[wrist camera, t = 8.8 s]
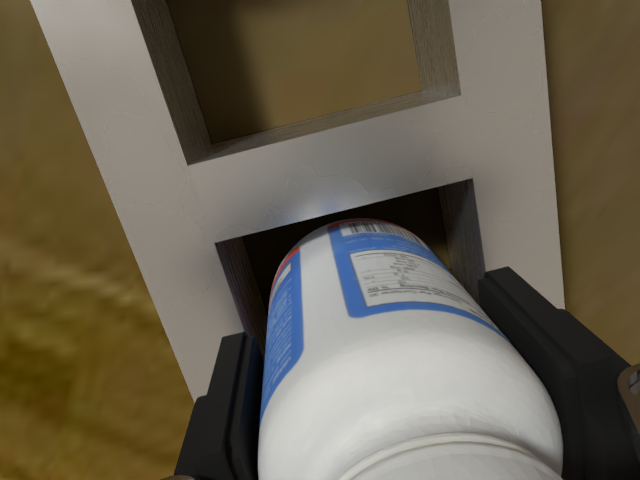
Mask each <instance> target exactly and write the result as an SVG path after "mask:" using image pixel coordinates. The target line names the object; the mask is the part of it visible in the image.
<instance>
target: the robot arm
mask: <svg viewBox="0 0 640 480" xmlns="http://www.w3.org/2000/svg"><path fill="white" fill-rule="evenodd" d="M478 291H479V298H480V305H481V309H482V310H483V311H484V312H485V313H486V315H487V316H488V317H489V318H490V319H491V321H492V322H493V323H494V324H495V325H496V326H497V327H498V329H499V330H500V331H501V332H502V333H503V335H504V336H505V337H506V338H507V339H508V340H509V341H510V343H511V344H512V345H513V347H514V348H515V349H516V350H517V351H518V352H519V353H520V355H521V356H522V357H523V358H524V360H525V361H526V362H527V364H528V365H529V366H530V367H531V369H532V370H533V371H534V372H535V374H536V375H537V376H538V378H539V379H540V380H541V382H542V383H543V385H544V386H545V388H546V390H547V391H548V393H549V395H550V397H551V399H552V402H553V404H554V406H555V409H556V411H557V414H558V418H559V421H560V425H561V431H562V438H563V467H562V474H561V478H562V479H563V480H640V364H636V365H633V366H631V365H630V364H629V363H627V362H626V361H625V360H624V359H623V358H622V357H620V356H619V355H618V354H617V353H616V352H615V351H613V350H612V349H611V348H610V347H609V346H607V345H606V344H605V343H604V342H603V341H602V340H600V339H599V338H598V337H597V336H596V335H595V334H593V333H592V332H591V331H590V330H589V329H588V328H586V327H585V326H584V325H583V324H582V323H580V322H579V321H578V320H577V319H576V318H575V317H573V316H572V315H571V314H570V313H569V312H567V311H566V310H564V309H557V308H556V307H555V306H554V305H553V304H551V303H550V302H549V301H548V300H547V299H546V298H545V297H543V296H542V295H541V294H540V293H539V292H538V291H537V290H535V289H534V288H533V287H532V286H531V285H530V284H529V283H527V282H526V281H525V280H524V279H523V278H522V277H521V276H519V275H518V274H517V273H516V272H515V271H514V270H512V269H511V268H510V267H508V266H507V267H503V268H499V269H495V270H491V271H487V272H485V273H484V278H483V279H479V280H478ZM263 368H264V360H263V357H262V354H261V351H260V348H259V345H258V342H257V339H256V337H255V336H254V335H252V336H248V335H247V334H246V332H245V331H244V332H240V333H236V334H232V335H228V336H224V337H222V339H221V343H220V347H219V351H218V354H217V358H216V362H215V366H214V369H213V373H212V377H211V381H210V384H209V388H208V392H207V395H204V396H200V397H198V398H197V400H196V402H195V405H194V408H193V411H192V415H191V418H190V421H189V425H188V428H187V432H186V435H185V438H184V442H183V445H182V448H181V452H180V455H179V459H178V462H177V465H176V469H175V472H174V475H173V476H169V477H167V478H164V479H161V480H258V436H259V422H260V410H261V396H262V381H263Z"/></svg>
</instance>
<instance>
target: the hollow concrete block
mask: <svg viewBox="0 0 640 480" xmlns="http://www.w3.org/2000/svg"><path fill="white" fill-rule="evenodd" d="M30 1H31V3H32V6H33V8H34V11H35V13H36V16H37V18H38V20H39V23H40V25H41V28H42V30H43V33H44V35H45V38H46V40H47V43H48V45H49V47H50V50H51V52H52V55H53V57H54V60H55V62H56V65H57V67H58V70H59V72H60V74H61V77H62V79H63V82H64V84H65V87H66V89H67V92H68V94H69V96H70V99H71V101H72V104H73V106H74V109H75V111H76V114H77V116H78V119H79V121H80V123H81V126H82V128H83V131H84V133H85V136H86V138H87V141H88V143H89V145H90V148H91V150H92V153H93V155H94V158H95V160H96V163H97V165H98V168H99V170H100V172H101V175H102V177H103V180H104V182H105V185H106V187H107V190H108V192H109V194H110V197H111V199H112V202H113V204H114V207H115V209H116V212H117V214H118V217H119V219H120V221H121V224H122V226H123V229H124V231H125V234H126V236H127V239H128V241H129V243H130V246H131V248H132V251H133V253H134V256H135V258H136V261H137V263H138V266H139V268H140V270H141V273H142V275H143V278H144V280H145V283H146V285H147V288H148V290H149V293H150V295H151V297H152V300H153V302H154V305H155V307H156V310H157V312H158V315H159V317H160V319H161V322H162V324H163V327H164V329H165V332H166V334H167V337H168V339H169V342H170V344H171V346H172V349H173V351H174V354H175V356H176V359H177V361H178V364H179V366H180V368H181V371H182V373H183V376H184V378H185V381H186V383H187V386H188V388H189V391H190V393H191V395H192V398H193V400H194V403H195V402H196V400H197V398H198V397H200V396H204V395H207V392H208V388H209V384H210V381H211V377H212V373H213V369H214V366H215V362H216V358H217V354H218V351H219V347H220V343H221V339H222V337H224V336H228V335H232V334H236V333H240V332H244V331H245V332H246V334H247V335H248V336H252V335H254V336H255V337H256V339H257V342H258V345H259V348H260V351H261V354H262V357H263V360H264V357H265V346H266V335H267V323H268V318H267V314H266V311H265V308H264V305H263V302H262V299H261V296H260V293H259V289H258V286H257V283H256V280H255V277H254V274H253V271H252V268H251V265H250V261H249V258H248V255H247V252H246V249H245V246H244V243H243V240H242V236H244V235H248V234H252V233H256V232H260V231H264V230H268V229H272V228H276V227H280V226H284V225H288V224H292V223H296V222H300V221H304V220H308V219H312V218H316V217H320V216H323V215H327V214H331V213H335V212H339V211H343V210H347V209H351V208H355V207H359V206H363V205H367V204H371V203H375V202H379V201H383V200H387V199H391V198H395V197H399V196H403V195H407V194H411V193H415V192H419V191H423V190H427V189H431V188H435V187H438V192H439V198H440V204H441V210H442V216H443V222H444V228H445V234H446V240H447V246H448V252H449V258H450V264H451V271H452V275H453V276H454V278H455V279H456V280H457V281H458V282H459V283H460V284H461V285H462V286H463V288H464V289H465V290H466V291H467V292H468V293H469V295H470V296H471V297H472V298H473V299H474V301H475V302H476V303H477V304H478V305H479V306H480V307H481V305H480V298H479V291H478V280H479V279H483V278H484V273H485V272H487V271H491V270H495V269H499V268H503V267H507V266H508V267H510V268H511V269H512V270H514V271H515V272H516V273H517V274H518V275H519V276H521V277H522V278H523V279H524V280H525V281H526V282H527V283H529V284H530V285H531V286H532V287H533V288H534V289H535V290H537V291H538V292H539V293H540V294H541V295H542V296H543V297H545V298H546V299H547V300H548V301H549V302H550V303H551V304H553V305H554V306H555V307H556V308H557V309H564V310H565V303H564V290H563V278H562V265H561V252H560V239H559V226H558V214H557V201H556V188H555V175H554V163H553V150H552V137H551V124H550V111H549V99H548V86H547V73H546V60H545V48H544V35H543V22H542V9H541V0H407V3H408V9H409V16H410V22H411V28H412V34H413V40H414V46H415V52H416V58H417V64H418V70H419V76H420V82H421V88H422V90H421V91H417V92H413V93H410V94H406V95H402V96H398V97H394V98H390V99H386V100H382V101H379V102H375V103H371V104H367V105H363V106H359V107H355V108H352V109H348V110H344V111H340V112H336V113H332V114H328V115H324V116H321V117H317V118H313V119H309V120H305V121H301V122H297V123H293V124H290V125H286V126H282V127H278V128H274V129H270V130H266V131H262V132H259V133H255V134H251V135H247V136H243V137H239V138H235V139H231V140H228V141H224V142H220V143H216V144H212V143H211V140H210V137H209V133H208V130H207V127H206V124H205V121H204V118H203V115H202V112H201V109H200V105H199V102H198V99H197V96H196V93H195V90H194V87H193V84H192V80H191V77H190V74H189V71H188V68H187V65H186V62H185V59H184V55H183V52H182V49H181V46H180V43H179V40H178V37H177V34H176V31H175V27H174V24H173V21H172V18H171V15H170V12H169V9H168V6H167V2H166V0H30Z"/></svg>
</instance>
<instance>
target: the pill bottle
mask: <svg viewBox="0 0 640 480" xmlns="http://www.w3.org/2000/svg"><path fill="white" fill-rule="evenodd" d="M562 467H563V438H562V431H561V425H560V421H559V418H558V414H557V411H556V409H555V406H554V404H553V402H552V399H551V397H550V395H549V393H548V391H547V390H546V388H545V386H544V385H543V383H542V382H541V380H540V379H539V378H538V376H537V375H536V374H535V372H534V371H533V370H532V369H531V367H530V366H529V365H528V364H527V362H526V361H525V360H524V358H523V357H522V356H521V355H520V353H519V352H518V351H517V350H516V349H515V348H514V347H513V345H512V344H511V343H510V341H509V340H508V339H507V338H506V337H505V336H504V335H503V333H502V332H501V331H500V330H499V329H498V327H497V326H496V325H495V324H494V323H493V322H492V321H491V319H490V318H489V317H488V316H487V315H486V313H485V312H484V311H483V310H482V309H481V307H480V306H479V305H478V304H477V303H476V302H475V301H474V299H473V298H472V297H471V296H470V295H469V293H468V292H467V291H466V290H465V289H464V288H463V286H462V285H461V284H460V283H459V282H458V281H457V280H456V279H455V278H454V276H453V275H452V274H451V273H450V272H449V271H448V269H447V268H446V267H445V266H444V265H443V263H442V262H441V261H440V260H439V259H438V257H437V256H436V255H435V254H434V253H433V252H432V250H431V249H430V248H429V247H428V246H427V245H426V244H425V243H424V242H423V241H422V240H421V239H420V238H418V237H417V236H416V235H414V234H413V233H411V232H410V231H408V230H407V229H404V228H402V227H400V226H398V225H396V224H393V223H390V222H387V221H383V220H377V219H369V218H355V219H345V220H340V221H336V222H333V223H330V224H327V225H325V226H322V227H320V228H318V229H316V230H314V231H313V232H311V233H309V234H308V235H306V236H305V237H304V238H302V239H301V240H300V241H299V242H298V243H297V244H296V245H295V246H294V247H293V248H292V249H291V250H290V251H289V252H288V254H287V255H286V256H285V258H284V259H283V261H282V263H281V264H280V266H279V268H278V270H277V273H276V275H275V278H274V281H273V284H272V289H271V294H270V300H269V311H268V323H267V335H266V346H265V357H264V368H263V381H262V396H261V410H260V422H259V436H258V480H563V479H562V478H561V474H562Z"/></svg>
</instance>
